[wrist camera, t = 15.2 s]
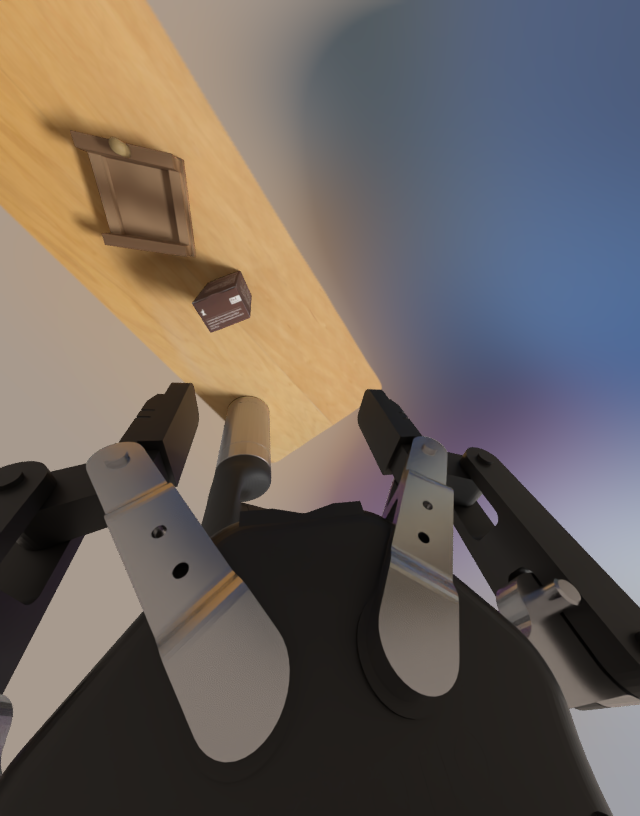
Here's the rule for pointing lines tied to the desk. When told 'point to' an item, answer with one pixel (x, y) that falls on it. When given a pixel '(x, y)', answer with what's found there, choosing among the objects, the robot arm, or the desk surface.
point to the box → (224, 302)
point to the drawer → (141, 195)
